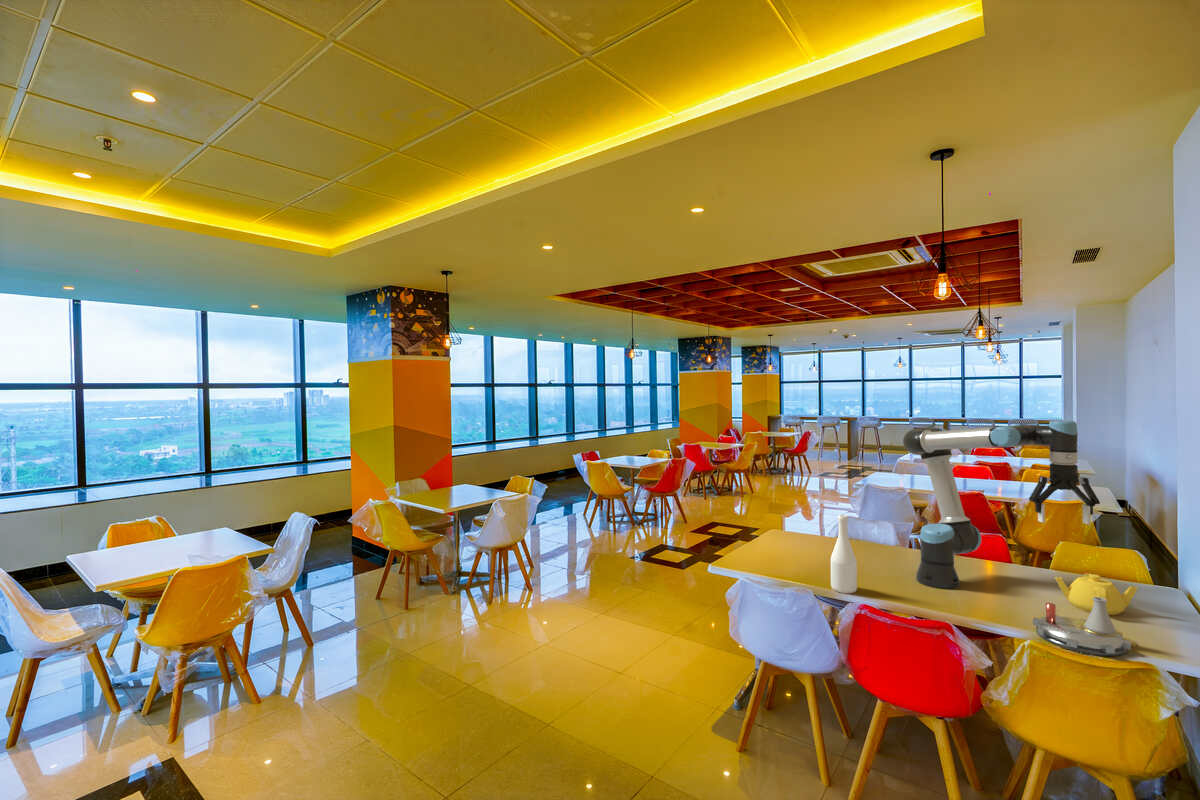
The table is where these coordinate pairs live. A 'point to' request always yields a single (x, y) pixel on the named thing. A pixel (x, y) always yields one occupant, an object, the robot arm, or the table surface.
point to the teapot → (1096, 593)
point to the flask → (1100, 618)
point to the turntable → (1078, 633)
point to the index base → (1087, 651)
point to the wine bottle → (843, 561)
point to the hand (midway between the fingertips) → (1063, 522)
